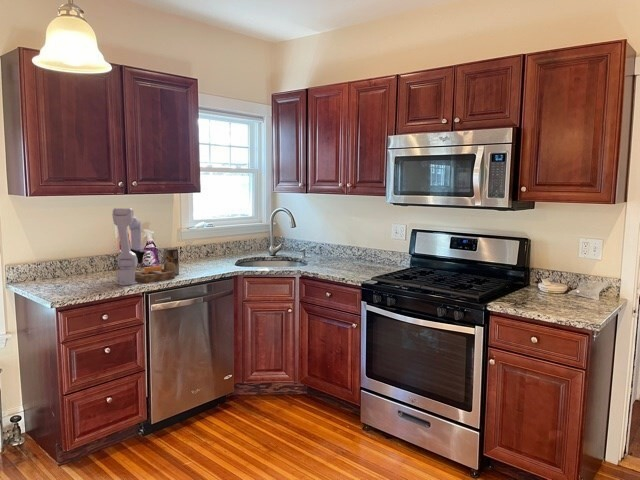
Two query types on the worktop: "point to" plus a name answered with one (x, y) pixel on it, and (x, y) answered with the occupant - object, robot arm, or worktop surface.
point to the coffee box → (171, 260)
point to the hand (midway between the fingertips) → (136, 262)
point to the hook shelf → (154, 276)
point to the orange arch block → (152, 269)
